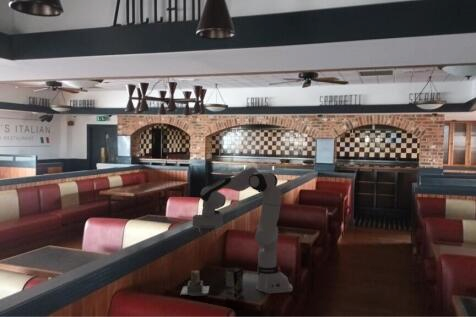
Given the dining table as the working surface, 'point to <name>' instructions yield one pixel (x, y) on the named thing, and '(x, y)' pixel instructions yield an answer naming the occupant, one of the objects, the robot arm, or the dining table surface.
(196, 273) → the beech pin
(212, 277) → the dining table surface
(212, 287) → the dining table surface
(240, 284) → the coffee box
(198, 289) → the socket plate
